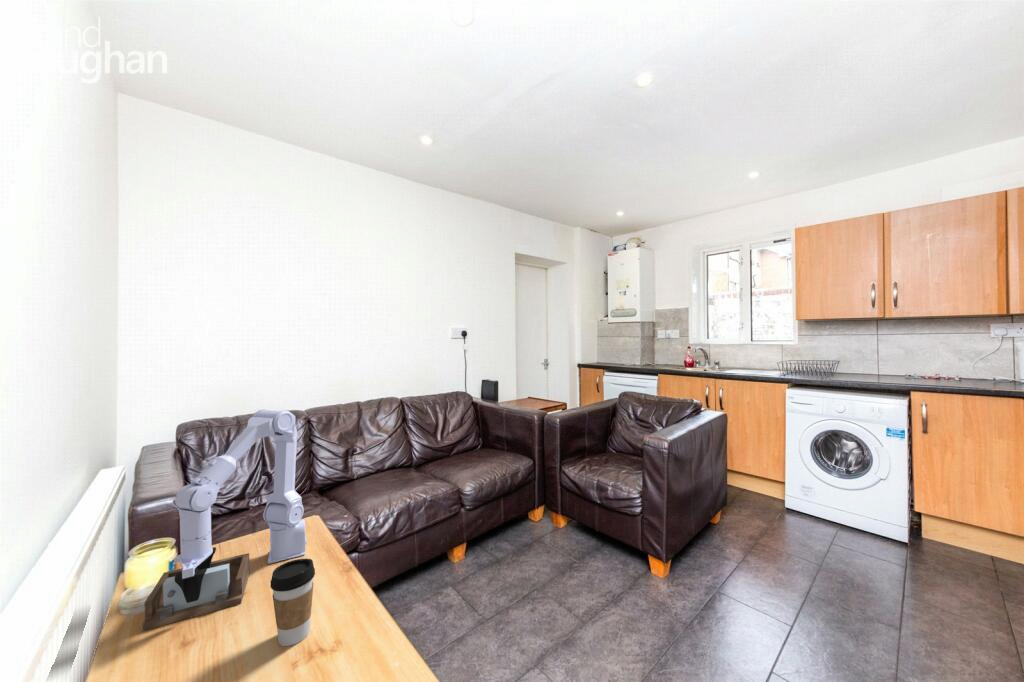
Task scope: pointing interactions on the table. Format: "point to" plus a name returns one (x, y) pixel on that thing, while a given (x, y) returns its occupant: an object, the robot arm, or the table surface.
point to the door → (211, 584)
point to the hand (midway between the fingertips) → (197, 591)
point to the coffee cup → (293, 600)
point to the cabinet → (166, 615)
